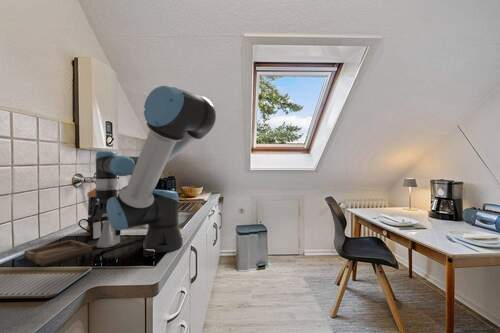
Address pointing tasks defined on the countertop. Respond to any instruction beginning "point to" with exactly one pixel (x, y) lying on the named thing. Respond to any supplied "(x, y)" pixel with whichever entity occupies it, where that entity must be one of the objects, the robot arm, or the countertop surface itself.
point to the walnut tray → (57, 252)
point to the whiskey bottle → (91, 198)
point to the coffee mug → (103, 218)
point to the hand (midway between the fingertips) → (106, 240)
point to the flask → (105, 236)
